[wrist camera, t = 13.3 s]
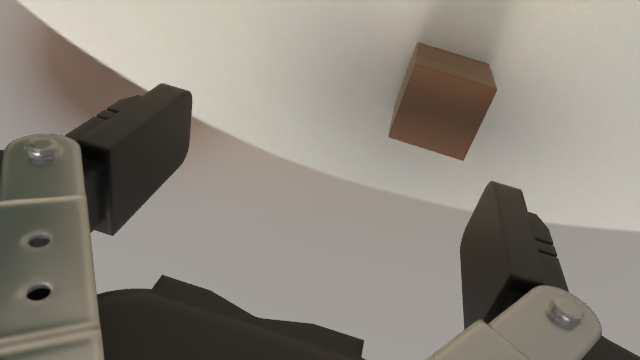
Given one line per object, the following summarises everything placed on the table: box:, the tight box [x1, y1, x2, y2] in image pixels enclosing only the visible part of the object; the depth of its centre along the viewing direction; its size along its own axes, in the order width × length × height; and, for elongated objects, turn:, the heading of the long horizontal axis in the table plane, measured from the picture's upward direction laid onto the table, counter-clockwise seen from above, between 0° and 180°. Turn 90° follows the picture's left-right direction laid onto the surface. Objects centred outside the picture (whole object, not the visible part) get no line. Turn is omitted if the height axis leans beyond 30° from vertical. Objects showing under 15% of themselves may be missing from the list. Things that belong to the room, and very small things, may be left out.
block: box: [389, 43, 497, 161], centre depth 27 cm, size 4×4×4 cm
